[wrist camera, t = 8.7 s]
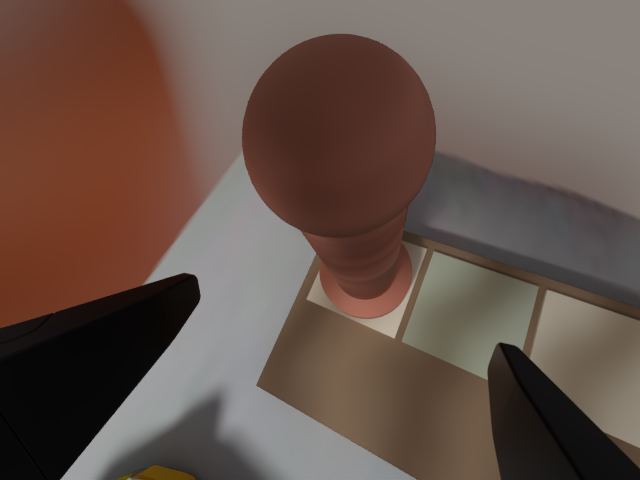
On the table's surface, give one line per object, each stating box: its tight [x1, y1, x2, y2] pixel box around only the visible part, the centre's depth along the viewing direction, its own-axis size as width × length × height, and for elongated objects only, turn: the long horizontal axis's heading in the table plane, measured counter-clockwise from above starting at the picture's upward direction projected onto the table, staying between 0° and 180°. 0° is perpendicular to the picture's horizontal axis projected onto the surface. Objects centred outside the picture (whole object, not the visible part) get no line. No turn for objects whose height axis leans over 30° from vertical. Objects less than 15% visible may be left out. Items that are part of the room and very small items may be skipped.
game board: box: [256, 231, 640, 480], centre depth 16 cm, size 19×12×1 cm, turn 66°
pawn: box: [242, 34, 436, 319], centre depth 11 cm, size 5×5×15 cm
